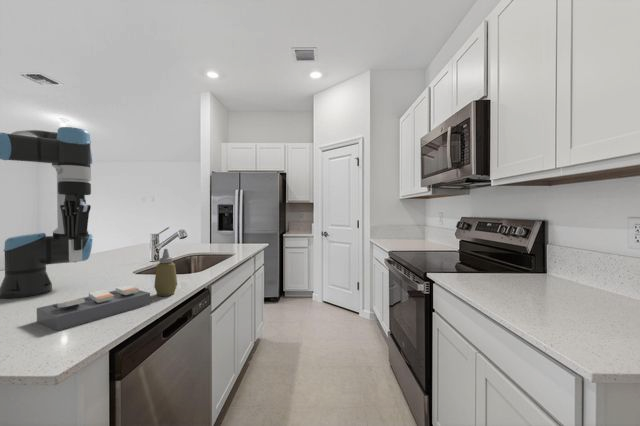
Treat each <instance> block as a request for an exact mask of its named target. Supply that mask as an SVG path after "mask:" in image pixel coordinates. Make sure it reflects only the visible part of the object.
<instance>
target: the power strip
mask: <svg viewBox="0 0 640 426" xmlns="http://www.w3.org/2000/svg"><path fill="white" fill-rule="evenodd" d="M108 292H109V293H110V294H112V295H113V296H114V298H113V299H112V300H108V301H104V302H100V303H97V302H96V301H95V300H93V299H92V298H90V297H89V295H88V296H84V297H80V298H79V299H81V298H83V299H84V300H85V302H84V303H80V304H76V305H72V306H68V307H59V308H58V306H57V303H54V304H49V305H46V306H40V307H36V322H37V323H39V324H41V325H44V326H46V327H47V328H50V329H52V330H55V331H57V332H58V331H62V330H66V329H69V328H73V327H76V326H79V325H82V324H83V325H84V324H87V323H90V322H92V321H93V322H94V321H96V320H100V319H103V318H107V317H111V316H114V315H117V314H120V313H121V314H122V313H125V312H128V311H130V310H134V309H139V308H142V307H145V306H148V305H151V292H148V291H144V290H141V289H139V292H136V293H132V294H128V295H124V294H121V293H119V292H116V289H115V290H112V291H111V290H110V291H108Z"/></svg>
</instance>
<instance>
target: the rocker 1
mask: <svg viewBox="0 0 640 426" xmlns="http://www.w3.org/2000/svg"><path fill="white" fill-rule="evenodd" d="M80 298H81V299H80ZM80 298H75V299H72V300H68V301H67V300H66V301H62V302H58V303H56V304H57V306H58V308H59V307H68V306H72V305H76V304H80V303H84V302H85V300H84V299H83V298H84V297H80Z"/></svg>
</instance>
